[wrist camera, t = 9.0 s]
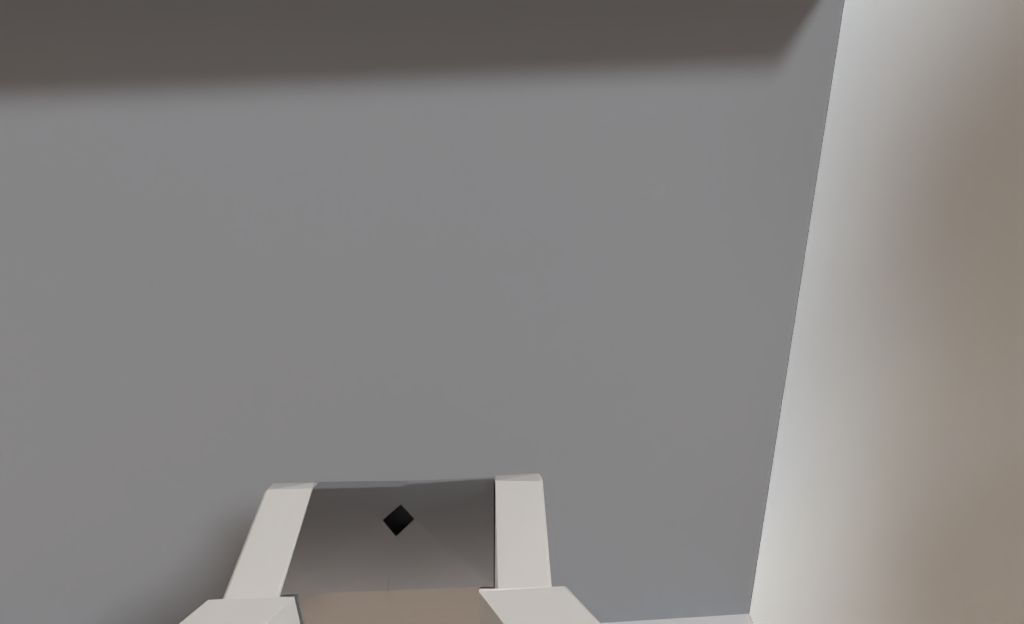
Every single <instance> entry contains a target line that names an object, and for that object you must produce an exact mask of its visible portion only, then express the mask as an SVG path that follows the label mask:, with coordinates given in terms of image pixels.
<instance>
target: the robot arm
mask: <svg viewBox="0 0 1024 624" xmlns="http://www.w3.org/2000/svg"><path fill="white" fill-rule="evenodd" d="M179 624H601V623H600V622H599V621H598V620H597V619H596V618H595V617H594V616H593V615H592V614H591V613H590V611H589V610H588V609H587V608H586V607H585V606H584V605H583V604H582V603H581V602H580V601H579V600H578V599H577V598H576V596H575V595H574V594H573V593H572V592H571V591H570V590H569V589H568V588H567V587H566V586H557V587H552V584H551V572H550V561H549V549H548V537H547V526H546V514H545V502H544V491H543V479H542V477H541V476H540V474H539V473H535V474H518V475H501V476H496V480H495V477H481V478H458V479H435V480H412V481H342V482H318V483H273V484H272V485H271V486H270V487H269V488H268V489H267V490H266V491H265V493H264V495H263V497H262V500H261V502H260V505H259V507H258V510H257V513H256V515H255V518H254V520H253V523H252V525H251V528H250V530H249V533H248V535H247V538H246V541H245V543H244V546H243V548H242V551H241V553H240V556H239V558H238V561H237V563H236V566H235V569H234V571H233V574H232V576H231V579H230V581H229V584H228V586H227V589H226V591H225V594H224V597H223V599H215V600H207V601H206V602H205V603H204V604H202V605H201V606H200V607H199V608H197V609H196V610H195V611H194V612H193V613H191V614H190V615H189V616H188V617H186V618H185V619H184V620H183V621H182V622H180V623H179Z"/></svg>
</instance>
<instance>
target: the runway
mask: <svg viewBox="0 0 1024 624" xmlns="http://www.w3.org/2000/svg"><path fill="white" fill-rule="evenodd" d="M843 7H844V0H0V624H179V623H180V622H182V621H183V620H184V619H185V618H186V617H188V616H189V615H190V614H191V613H193V612H194V611H195V610H196V609H197V608H199V607H200V606H201V605H202V604H204V603H205V602H206V601H207V600H215V599H223V597H224V594H225V591H226V589H227V586H228V584H229V581H230V579H231V576H232V574H233V571H234V569H235V566H236V563H237V561H238V558H239V556H240V553H241V551H242V548H243V546H244V543H245V541H246V538H247V535H248V533H249V530H250V528H251V525H252V523H253V520H254V518H255V515H256V513H257V510H258V507H259V505H260V502H261V500H262V497H263V495H264V493H265V491H266V490H267V489H268V488H269V487H270V486H271V485H272V484H273V483H318V482H342V481H412V480H435V479H458V478H481V477H495V480H496V476H501V475H518V474H535V473H539V474H540V476H541V477H542V479H543V491H544V502H545V514H546V526H547V537H548V549H549V561H550V572H551V584H552V587H557V586H566V587H567V588H568V589H569V590H570V591H571V592H572V593H573V594H574V595H575V596H576V598H577V599H578V600H579V601H580V602H581V603H582V604H583V605H584V606H585V607H586V608H587V609H588V610H589V611H590V613H591V614H592V615H593V616H594V617H595V618H596V619H597V620H598V621H599V622H600V623H601V624H753V622H752V620H751V617H750V615H749V611H750V605H751V598H752V592H753V585H754V579H755V573H756V566H757V560H758V553H759V547H760V540H761V534H762V528H763V521H764V515H765V508H766V502H767V495H768V489H769V483H770V476H771V470H772V463H773V457H774V450H775V444H776V438H777V431H778V425H779V418H780V412H781V405H782V399H783V393H784V386H785V380H786V373H787V367H788V360H789V354H790V348H791V341H792V335H793V328H794V322H795V315H796V309H797V303H798V296H799V290H800V283H801V277H802V270H803V264H804V258H805V251H806V245H807V238H808V232H809V225H810V219H811V213H812V206H813V200H814V193H815V187H816V180H817V174H818V168H819V161H820V155H821V148H822V142H823V135H824V129H825V123H826V116H827V110H828V103H829V97H830V90H831V84H832V78H833V71H834V65H835V58H836V52H837V45H838V39H839V33H840V26H841V20H842V13H843Z"/></svg>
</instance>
